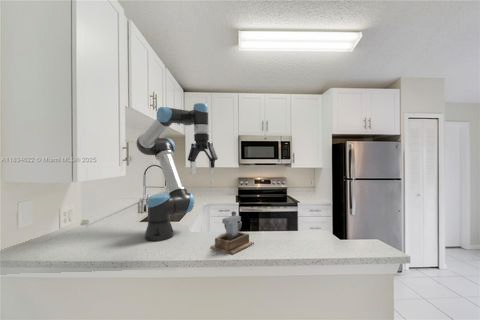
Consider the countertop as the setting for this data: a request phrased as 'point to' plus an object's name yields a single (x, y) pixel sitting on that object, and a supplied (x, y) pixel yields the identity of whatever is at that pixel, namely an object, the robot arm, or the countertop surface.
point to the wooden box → (232, 243)
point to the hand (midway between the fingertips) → (202, 174)
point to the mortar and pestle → (238, 222)
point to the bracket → (231, 227)
